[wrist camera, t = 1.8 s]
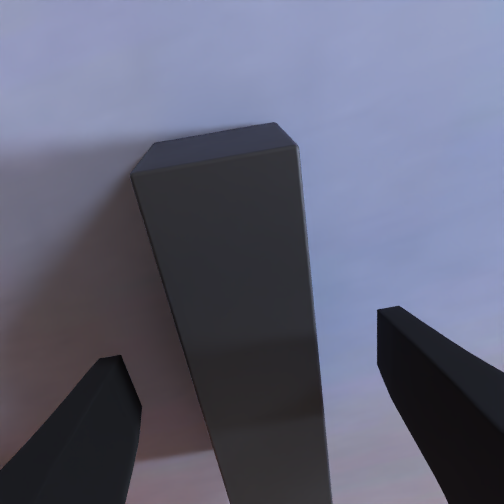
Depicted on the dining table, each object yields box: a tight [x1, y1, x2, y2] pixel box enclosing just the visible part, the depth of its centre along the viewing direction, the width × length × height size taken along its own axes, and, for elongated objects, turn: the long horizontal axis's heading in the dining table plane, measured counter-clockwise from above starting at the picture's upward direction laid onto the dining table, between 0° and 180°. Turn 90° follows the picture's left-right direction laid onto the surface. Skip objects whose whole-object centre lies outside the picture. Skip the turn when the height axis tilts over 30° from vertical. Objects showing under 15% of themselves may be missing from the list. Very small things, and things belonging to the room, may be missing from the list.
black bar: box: [130, 122, 333, 504], centre depth 11 cm, size 12×3×3 cm, turn 9°
